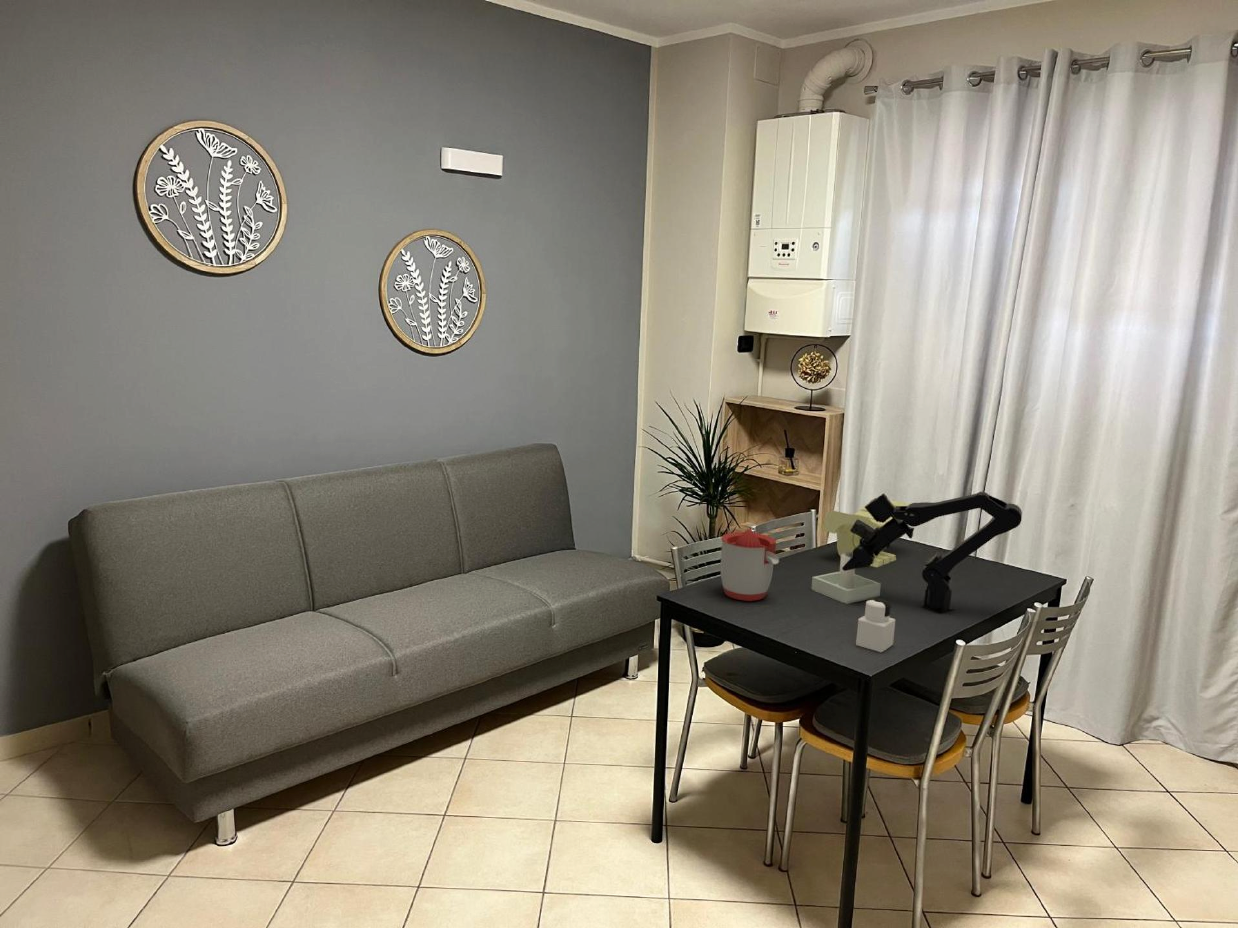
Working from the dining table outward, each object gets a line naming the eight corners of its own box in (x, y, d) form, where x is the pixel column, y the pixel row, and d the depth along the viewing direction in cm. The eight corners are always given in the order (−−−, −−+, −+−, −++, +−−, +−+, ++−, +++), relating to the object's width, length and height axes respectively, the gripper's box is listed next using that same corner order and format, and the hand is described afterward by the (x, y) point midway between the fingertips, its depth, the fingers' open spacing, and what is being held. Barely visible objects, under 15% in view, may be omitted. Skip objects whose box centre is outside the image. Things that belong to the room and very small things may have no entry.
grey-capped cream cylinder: (855, 593, 274) (858, 554, 271) (840, 593, 273) (844, 554, 271) (850, 588, 278) (854, 550, 276) (836, 588, 278) (839, 550, 275)
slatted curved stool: (866, 544, 329) (871, 495, 325) (908, 555, 318) (913, 504, 314) (820, 560, 307) (825, 508, 304) (863, 572, 296) (868, 518, 293)
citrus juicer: (760, 609, 259) (765, 541, 255) (707, 595, 269) (711, 528, 265) (786, 596, 271) (791, 530, 267) (735, 582, 281) (739, 519, 277)
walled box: (879, 596, 274) (880, 583, 273) (846, 604, 266) (847, 590, 265) (843, 582, 285) (845, 570, 284) (811, 589, 278) (812, 576, 277)
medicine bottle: (867, 637, 241) (871, 593, 239) (893, 645, 237) (897, 600, 235) (855, 645, 236) (859, 600, 234) (881, 653, 232) (886, 607, 229)
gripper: (873, 506, 277) (833, 536, 284) (864, 519, 261) (821, 551, 267) (898, 535, 276) (857, 565, 282) (890, 550, 259) (847, 582, 265)
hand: (845, 565), depth 274 cm, fingers open, 9 cm apart
